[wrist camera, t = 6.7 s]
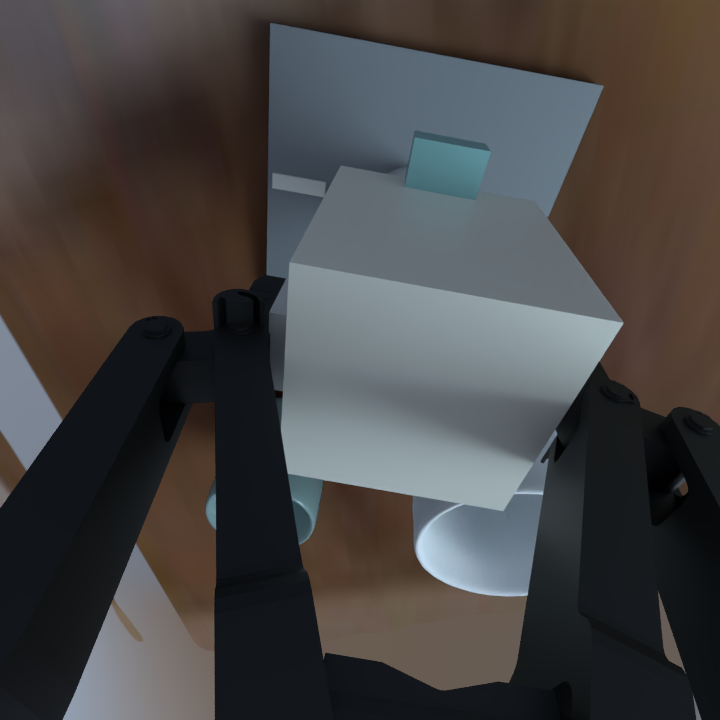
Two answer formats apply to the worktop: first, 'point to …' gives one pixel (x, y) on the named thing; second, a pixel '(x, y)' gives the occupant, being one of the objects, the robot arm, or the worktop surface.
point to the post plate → (405, 122)
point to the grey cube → (433, 332)
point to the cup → (302, 493)
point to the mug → (482, 538)
